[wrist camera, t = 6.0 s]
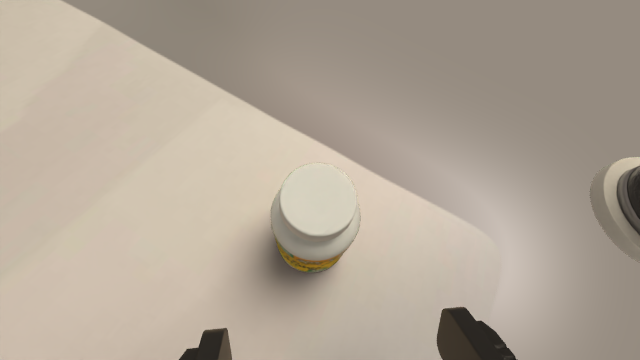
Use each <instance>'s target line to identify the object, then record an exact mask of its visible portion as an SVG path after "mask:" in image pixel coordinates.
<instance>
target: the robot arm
mask: <svg viewBox="0 0 640 360" xmlns="http://www.w3.org/2000/svg"><path fill="white" fill-rule="evenodd" d="M617 198H618V202H619V205H620V208H621V210H622V212H623V214H624V216H625V217H626V219H627V220H628V222H629V223H630V224H631V226H632V227H633V228H634V229H635V230H636V231H637V232H638V234H639V235H640V166H637V167H635V168H632V169H630V170H628V171H626V172H625V173H624V174H623V175H622V176H621V177H620V179H619V181H618V184H617ZM437 346H438V350H439V353H440V355H441V357H442V359H443V360H516V358H515V356H514V354H513V353H512V352H511V351H510V349H509V348H507V347H506V344H505V343H504V342H503V340H501V338H500V337H499V335H498V334H497V333H496V332H495V331H494V330H493V329H491V328H490V327H489V326H488V325H486V324H485V323H484V322H482V321H476V320H475V319H474V318H473V316H472V315H471V314H470V312H469V311H468V310H467V309H466V308H465V307H456V308H445V309H443V310H442V313H441V318H440V323H439V329H438V334H437ZM179 360H232V355H231V349H230V342H229V336H228V330H227V328H223V329H212V330H205V331H204V332H203V334H202V338H201V341H200V344H199V348H192V349H187V350H186V351H185V352H184V354H183V355H182V356H181V358H180V359H179Z"/></svg>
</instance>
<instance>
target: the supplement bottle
mask: <svg viewBox="0 0 640 360" xmlns="http://www.w3.org/2000/svg"><path fill="white" fill-rule="evenodd" d="M360 217H361V216H360V208H359V204H358V200H357V192H356V189H355V186H354V184H353V182H352V181H351V179H350V178H349V177H348V176H347V175H346V174H345V173H344V172H343V171H342V170H340V169H339V168H337V167H335V166H332V165H330V164H325V163H310V164H306V165H303V166H301V167H299V168H297V169H295V170H294V171H293V172H291V173H290V174H289V176H288V177H287V178H286V179H285V181H284V183H283V185H282V187H281V189H280V190H279V191H278V193H277V194H276V196H275V198H274V201H273V203H272V207H271V227H272V230H273V233H274V236H275V240H276V242H277V246H278V249H279V252H280V254H281V256H282V258H283V259H284V260H285V261H286V263H288V264H289V265H290V266H291V267H293V268H294V269H296V270H299V271H301V272H307V273H313V272H319V271H323V270H326V269H328V268H330V267H331V266H333V265H334V264H335V263H336V262H337V261H338V260H339V258H340V257H341V256H342V255H343V253H344V252H345V251H346V250H347V249H348V247H349V246H350V245H351V243H352V242H353V241H354V239H355V237H356V235H357V233H358V230H359V226H360Z"/></svg>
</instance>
